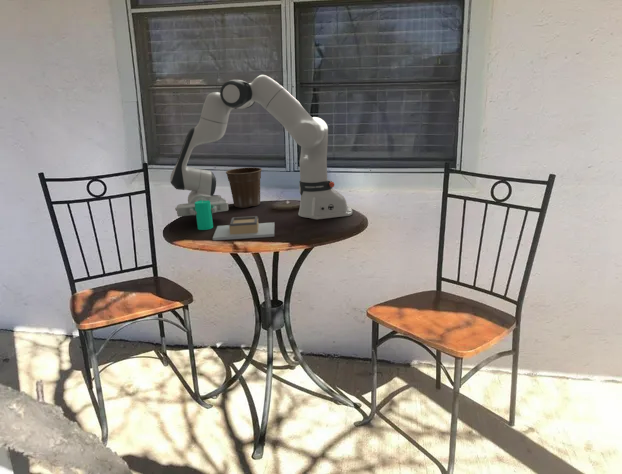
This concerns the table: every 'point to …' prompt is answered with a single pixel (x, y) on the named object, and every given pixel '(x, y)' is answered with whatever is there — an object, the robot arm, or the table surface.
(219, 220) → the table surface
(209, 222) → the candle
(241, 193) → the plant pot
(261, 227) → the board
